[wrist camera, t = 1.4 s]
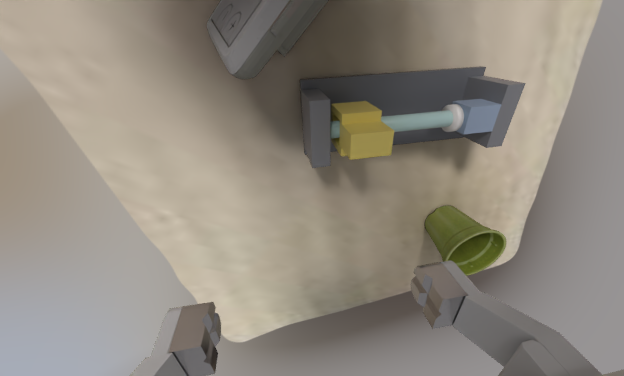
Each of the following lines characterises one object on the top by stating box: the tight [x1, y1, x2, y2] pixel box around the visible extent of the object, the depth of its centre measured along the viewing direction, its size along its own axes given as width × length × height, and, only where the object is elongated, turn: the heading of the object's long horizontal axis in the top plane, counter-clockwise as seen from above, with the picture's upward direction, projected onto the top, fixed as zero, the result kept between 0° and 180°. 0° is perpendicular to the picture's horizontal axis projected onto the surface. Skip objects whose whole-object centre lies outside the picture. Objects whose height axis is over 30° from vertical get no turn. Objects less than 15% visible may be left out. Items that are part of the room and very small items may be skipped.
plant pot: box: [425, 206, 506, 276], centre depth 40 cm, size 9×9×9 cm
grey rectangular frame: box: [300, 67, 525, 168], centre depth 29 cm, size 23×9×6 cm, turn 93°
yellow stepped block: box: [331, 101, 394, 160], centre depth 26 cm, size 4×4×7 cm
